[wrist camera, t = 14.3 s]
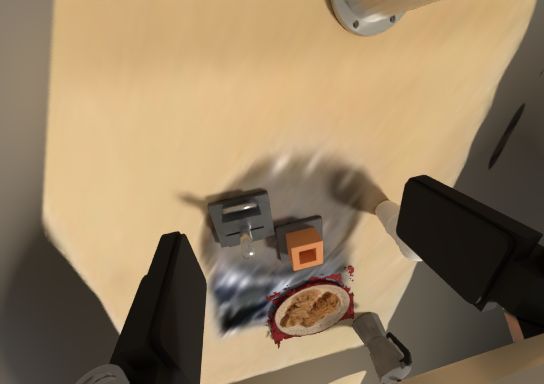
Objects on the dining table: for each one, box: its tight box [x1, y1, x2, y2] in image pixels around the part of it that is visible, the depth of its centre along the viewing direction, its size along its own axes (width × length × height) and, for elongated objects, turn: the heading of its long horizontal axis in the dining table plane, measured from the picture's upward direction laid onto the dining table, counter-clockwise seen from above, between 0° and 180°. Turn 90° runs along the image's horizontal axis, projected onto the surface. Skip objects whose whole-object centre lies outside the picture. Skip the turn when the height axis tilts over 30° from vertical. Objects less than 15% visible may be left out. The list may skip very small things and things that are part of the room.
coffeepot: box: [353, 313, 412, 384], centre depth 64 cm, size 15×9×18 cm, turn 166°
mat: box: [275, 216, 323, 263], centre depth 48 cm, size 10×10×1 cm
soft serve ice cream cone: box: [375, 200, 423, 261], centre depth 42 cm, size 8×8×16 cm
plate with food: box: [266, 267, 354, 348], centre depth 61 cm, size 24×26×3 cm
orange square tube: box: [286, 227, 323, 271], centre depth 46 cm, size 6×6×4 cm
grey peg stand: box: [208, 191, 275, 260], centre depth 38 cm, size 11×10×10 cm
